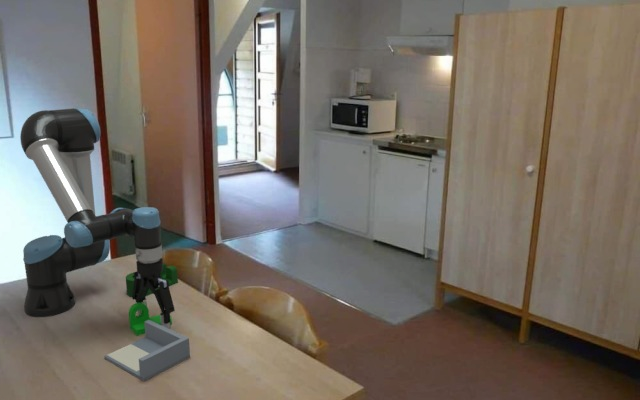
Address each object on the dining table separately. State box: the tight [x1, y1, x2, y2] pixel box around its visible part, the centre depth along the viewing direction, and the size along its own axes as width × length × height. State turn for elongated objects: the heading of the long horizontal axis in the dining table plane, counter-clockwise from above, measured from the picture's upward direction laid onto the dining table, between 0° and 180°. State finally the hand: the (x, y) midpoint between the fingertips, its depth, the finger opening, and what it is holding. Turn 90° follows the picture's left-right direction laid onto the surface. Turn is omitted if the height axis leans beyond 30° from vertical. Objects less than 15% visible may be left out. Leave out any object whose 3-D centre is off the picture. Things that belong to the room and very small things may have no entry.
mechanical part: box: [128, 302, 173, 337], centre depth 168 cm, size 12×6×8 cm, turn 128°
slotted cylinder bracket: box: [125, 262, 179, 298], centre depth 197 cm, size 18×9×6 cm, turn 147°
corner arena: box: [103, 320, 191, 382], centre depth 150 cm, size 18×15×6 cm
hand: (154, 326), depth 168 cm, fingers open, 10 cm apart
